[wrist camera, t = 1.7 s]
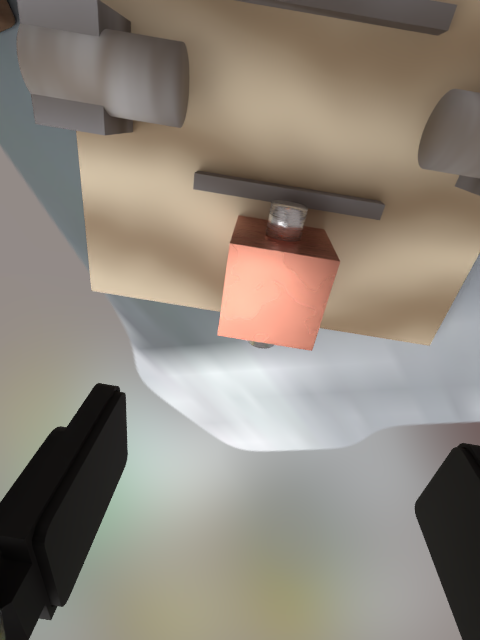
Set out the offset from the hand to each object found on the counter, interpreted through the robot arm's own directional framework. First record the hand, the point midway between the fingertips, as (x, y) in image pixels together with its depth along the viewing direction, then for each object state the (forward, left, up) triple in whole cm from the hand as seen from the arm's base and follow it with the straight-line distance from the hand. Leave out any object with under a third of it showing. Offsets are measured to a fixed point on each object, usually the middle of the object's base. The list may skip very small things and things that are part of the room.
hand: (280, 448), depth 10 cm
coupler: (-1, 0, -13) cm, 13 cm away
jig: (-6, 0, -14) cm, 15 cm away
